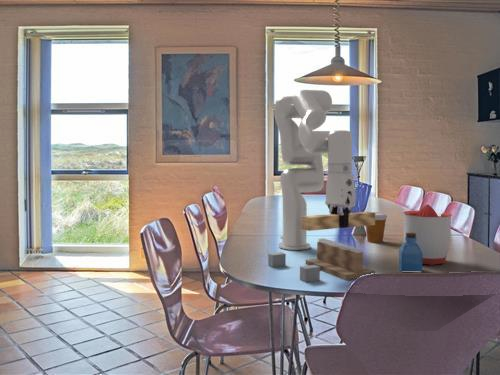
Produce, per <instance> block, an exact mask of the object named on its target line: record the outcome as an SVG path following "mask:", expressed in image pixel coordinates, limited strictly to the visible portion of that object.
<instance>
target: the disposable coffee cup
mask: <svg viewBox="0 0 500 375" xmlns="http://www.w3.org/2000/svg"><path fill="white" fill-rule="evenodd" d="M372 213H375V225H369V226H365V229H366V230H365V232H366V239H367V240H366V241H367V242H368V243H373V244H376V243H377V244H380V243H383V242H384V235H385V229H386V222H387V218H388V216H387V213H385V212H378V211H376V212H375V211H374V212H373V211H372Z"/></svg>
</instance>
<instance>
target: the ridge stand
mask: <svg viewBox="0 0 500 375" xmlns="http://www.w3.org/2000/svg"><path fill="white" fill-rule="evenodd" d="M316 248H317V249H316V258H311V259H306V260H305V266H308V265H316V266H319V267H320V271H321V272H324V273H327V274H329V275H332V276H334V277H337V278H340V279H343V280H344V281H348V280H356V278H357V277H360V276H362V275H366V274H371V273H375V274H376V270H374V269H370V268H367V267H364V264H363V262H364V261H363V258H364V256H363V254H364V253H363V251H362V248H359V247H355V246H351V245H348V244H345V243H340V242H338V241H333V240H330V239H326V238H318V241H317V243H316ZM357 279H358V278H357Z"/></svg>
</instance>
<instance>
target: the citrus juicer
mask: <svg viewBox="0 0 500 375" xmlns="http://www.w3.org/2000/svg"><path fill="white" fill-rule="evenodd" d="M403 214H404V215H403V216H404V217H403V219H404V220H403V243H406V240H405V237H406V233H416V238H417V239H416V241H415V243H417V244H418V246H419V248H420V250H421V252H422V265H423V264H424V265H428V264H429V265H428V266H434V265H441V264H444V263H445V261H446V259H447V257H448V256H447V255H448V253H449V251H450V246H451V235H452V234H451V230H452V229H451V228H452V227H451V225H452V216H453V214H452V213H450V212H443V213H441V214H440V215H439V216H438V214H437V211H435V209H434V208H433V207H432V206H431V205H430V204H425V205H424V206H423V207H421V209H420V210H406V211H405V210H404V211H403Z"/></svg>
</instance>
